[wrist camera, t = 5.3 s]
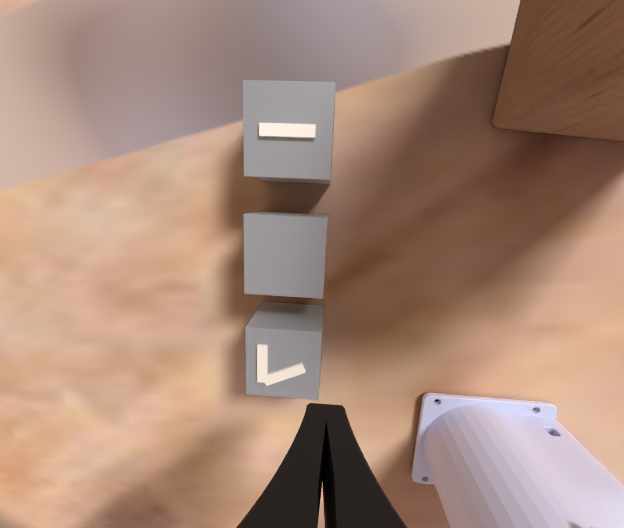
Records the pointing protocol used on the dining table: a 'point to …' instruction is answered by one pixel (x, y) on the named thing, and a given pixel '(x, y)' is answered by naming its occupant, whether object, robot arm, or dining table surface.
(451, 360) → the dining table surface
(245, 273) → the plain block
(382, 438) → the dining table surface
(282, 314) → the block marked 7
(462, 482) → the robot arm
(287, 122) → the block marked 1
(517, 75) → the wooden block
